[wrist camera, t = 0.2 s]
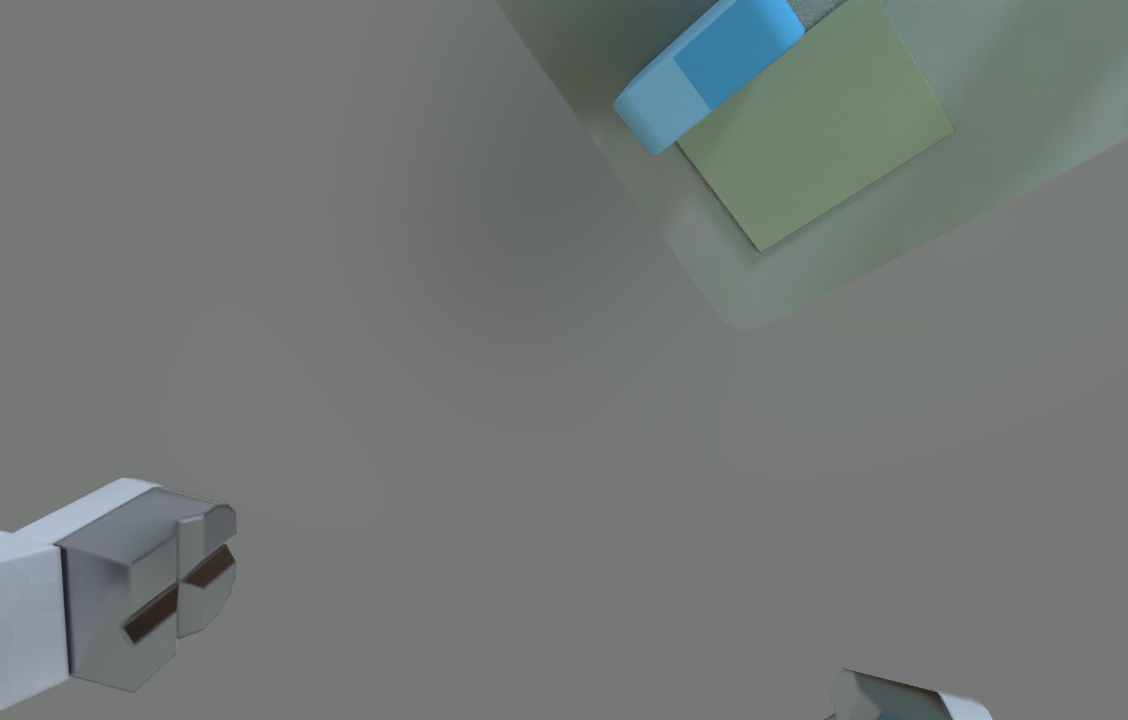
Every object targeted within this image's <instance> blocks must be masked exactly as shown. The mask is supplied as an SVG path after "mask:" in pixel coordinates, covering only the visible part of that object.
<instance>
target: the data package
mask: <svg viewBox="0 0 1128 720" xmlns="http://www.w3.org/2000/svg"><path fill="white" fill-rule="evenodd" d="M804 32H805V29H804V27H803V26H802V24H801V22H800V21H799V19H798V18H797V16H796V15H795V13H794V12H793V10H792V9H791V7H790V6H789V4H788V3H787V1H786V0H719V1H718V2H717V3H715V4H714V5H713V6H712V7H711V8H710V9H709V10H708V11H707V12H705V13H704V14H703V15H702V16H701V17H700V18H699V19H698V20H697V21H695V22H694V23H693V24H692V25H691V26H690V27H689V28H688V29H687V30H686V31H684V32H683V33H682V34H681V35H680V36H679V37H678V38H677V39H676V40H674V41H673V42H672V43H671V44H670V45H669V46H668V47H667V48H666V49H665V50H663V51H662V52H661V53H660V54H659V55H658V56H657V57H656V58H655V59H653V60H652V61H651V62H650V63H649V64H648V65H647V66H646V67H645V68H644V69H642V70H641V71H640V72H639V73H638V74H637V75H636V76H635V77H634V78H633V79H632V80H631V82H630V83H629V84H628V85H627V87H626V88H625V89H624V91H623V92H622V93H621V94H620V96H619V97H618V98H617V99H616V101H615V102H614V103H613V108H614V110H615V111H616V112H617V113H618V115H619V116H620V117H621V119H622V120H623V121H624V122H625V124H626V125H627V126H628V127H629V129H630V130H631V131H632V133H633V134H634V135H635V136H636V138H637V139H638V140H639V142H640V143H641V144H642V145H643V147H644V148H645V149H646V150H647V152H648V153H649V154H650V155H652V156H655V155H657V154H659V153H660V152H662V151H663V150H665V149H666V148H667V147H669V146H670V145H671V144H672V143H674V142H675V141H676V140H677V139H679V138H680V137H681V136H682V135H684V134H685V133H686V132H687V131H689V130H690V129H691V128H692V127H694V126H695V125H696V124H697V123H699V122H700V121H701V120H702V119H704V118H705V117H706V116H707V115H709V114H710V113H711V112H712V111H714V110H715V109H716V108H717V107H719V106H720V105H721V104H722V103H724V102H725V101H726V100H727V99H729V98H730V97H731V96H732V95H734V94H735V93H736V92H737V91H739V90H740V89H741V88H742V87H744V86H745V85H746V84H747V83H749V82H750V81H751V80H752V79H754V78H755V77H756V76H757V75H759V74H760V73H761V72H762V71H764V70H765V69H766V68H767V67H769V66H770V65H771V64H772V63H774V62H775V61H776V60H777V59H779V58H780V57H781V56H782V55H784V54H785V53H786V52H787V51H788V50H789V49H791V48H792V47H793V46H794V45H795V44H796V43H797V42H798V41H799V40H800V39H801V38H802V36H803V35H804Z"/></svg>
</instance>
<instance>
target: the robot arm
mask: <svg viewBox="0 0 1128 720" xmlns="http://www.w3.org/2000/svg"><path fill="white" fill-rule="evenodd" d="M235 534H236V512H235V511H234V510H233V509H232V508H231V507H230V506H229V505H228V504H225V503H222V502H218V501H214V500H212V499H208V498H205V497H201V496H198V495H194V494H191V493H187V492H184V491H180V490H177V489H174V488H170V487H167V486H165V487H164V486H161V485H159V484H155V483H151V482H148V481H144V480H140V479H137V478H120V479H118V480H116V481H114V482H112V483H111V484H108V485H106V486H104V487H102V488H100V489H98V490H97V491H95V492H93V493H91V494H89V495H87V496H85V497H83V498H81V499H79V500H77V501H75V502H73V503H71V504H69V505H67V506H65V507H63V508H61V509H59V510H57V511H55V512H53V513H51V514H49V515H47V516H46V517H43V518H42V519H39V520H38V521H36V522H34V523H32V524H30V525H28V526H26V527H24V528H22V529H20V530H18V531H16V532H14V533H8V532H5V531H0V711H1V710H3V709H6V708H8V707H10V706H12V705H14V704H17V703H19V702H21V701H23V700H26V699H28V698H30V697H32V696H34V695H37V694H39V693H41V692H43V691H45V690H48V689H50V688H52V687H54V686H56V685H59V684H61V683H63V682H65V681H67V680H69V676H72V677H76V678H80V679H83V680H87V681H91V682H94V683H98V684H101V685H105V686H109V687H112V688H116V689H120V690H123V691H127V692H131V693H135V692H136V691H137V690H138V689H139V688H140V687H141V686H142V685H143V684H144V683H146V682H147V681H148V680H149V679H150V678H151V677H152V676H153V675H154V674H155V673H156V672H158V671H159V670H160V669H161V668H162V667H163V666H164V665H165V664H166V663H167V662H168V661H170V660H171V659H172V658H173V657H174V656H175V655H176V652H177V645H178V639H180V638H183V637H185V636H188V635H191V634H194V633H197V632H199V631H202V630H203V629H204V628H205V627H206V626H207V625H208V624H209V623H210V622H211V621H212V620H213V619H215V618H216V616H218V614H219V612H220V611H221V609H222V607H223V606H224V604H225V603H226V601H227V599H228V598H229V596H230V594H231V590H232V587H233V583H234V580H235V568H236V561H235V559H234V558H233V556H232V554H231V552H230V551H229V549H228V547H227V545H226V544H227V543H228V542H229V541H230V540H231V539H232V538H233V536H234V535H235ZM830 696H831V700H832V703H833V707H834V710H835V713H834V714H833V715H831V716H829V717H828V718H826V719H824V720H993V719H992V717H991V716H990V714H989V712H988V711H987V709H986V708H985V707H984V706H983V705H981V704H980V703H979V702H978V701H977V700H975V699H971V698H967V697H963V696H958V695H954V694H950V693H946V692H941V691H937V690H933V689H930V690H927V689H923V688H919V687H915V686H911V685H907V684H903V683H900V682H896V681H892V680H888V679H884V678H880V677H876V676H872V675H868V674H865V673H861V672H857V671H853V670H849V669H845V668H843V670H842V671H841V672H840V673H839V674H838V676H837V677H836V679H835V682H834V684H833V687H832V689H831V692H830Z"/></svg>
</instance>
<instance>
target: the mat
mask: <svg viewBox="0 0 1128 720" xmlns="http://www.w3.org/2000/svg"><path fill="white" fill-rule="evenodd" d="M953 132H955V129H954V127H953V125H952V124H951V122H950V120H949V119H948V117H947V115H946V114H945V112H944V110H943V109H942V107H941V105H940V104H939V102H938V100H937V99H936V97H935V95H934V93H933V92H932V90H931V88H930V87H929V85H928V83H927V82H926V80H925V78H924V77H923V75H922V73H921V72H920V70H919V68H918V66H917V65H916V63H915V61H914V60H913V58H912V56H911V55H910V53H909V51H908V50H907V48H906V46H905V45H904V43H903V41H902V40H901V38H900V36H899V34H898V33H897V31H896V29H895V28H894V26H893V24H892V23H891V21H890V19H889V18H888V16H887V14H886V13H885V11H884V9H883V8H882V6H881V4H880V2H879V1H878V0H846V1H845V2H843V3H842V4H841V5H840V6H838V7H837V8H836V9H835V10H833V11H832V12H831V13H830V14H828V15H827V16H826V17H825V18H823V19H822V20H821V21H820V22H818V23H817V24H816V25H814V26H813V27H812V28H811V29H809V30H808V31H807V32H806V33H804V35H803V36H802V38H801V39H800V40H799V41H798V42H797V43H796V44H795V45H794V46H793V47H792V48H791V49H789V50H788V51H787V52H786V53H785V54H784V55H782V56H781V57H780V58H779V59H777V60H776V61H775V62H774V63H772V64H771V65H770V66H769V67H767V68H766V69H765V70H764V71H762V72H761V73H760V74H759V75H757V76H756V77H755V78H754V79H752V80H751V81H750V82H749V83H747V84H746V85H745V86H744V87H742V88H741V89H740V90H739V91H737V92H736V93H735V94H734V95H732V96H731V97H730V98H729V99H727V100H726V101H725V102H724V103H722V104H721V105H720V106H719V107H717V108H716V109H715V110H714V111H712V112H711V113H710V114H709V115H707V116H706V117H705V118H704V119H702V120H701V121H700V122H699V123H697V124H696V125H695V126H694V127H692V128H691V129H690V130H689V131H687V132H686V133H685V134H684V135H682V136H681V137H680V138H679V139H677V140H676V141H677V143H678V144H679V145H680V147H681V148H682V149H683V151H684V152H685V153H686V155H687V156H688V157H689V159H690V160H691V161H692V163H693V164H694V165H695V167H696V168H697V169H698V171H699V172H700V173H701V175H702V176H703V177H704V179H705V180H706V181H707V183H708V184H709V185H710V187H711V188H712V189H713V191H714V192H715V193H716V195H717V196H718V197H719V199H720V200H721V201H722V202H723V204H724V205H725V206H726V208H727V209H728V210H729V212H730V213H731V214H732V216H733V217H734V218H735V220H736V221H737V222H738V224H739V225H740V226H741V228H742V229H743V230H744V232H745V233H746V234H747V236H748V237H749V238H750V240H751V241H752V242H753V244H754V245H755V246H756V248H757V249H758V250H759V252H760V253H761V252H763V251H764V250H766V249H768V248H769V247H771V246H772V245H774V244H776V243H777V242H779V241H780V240H782V239H784V238H785V237H787V236H788V235H790V234H792V233H793V232H795V231H796V230H798V229H800V228H801V227H803V226H804V225H806V224H808V223H809V222H811V221H812V220H814V219H816V218H817V217H819V216H820V215H822V214H824V213H825V212H827V211H828V210H830V209H832V208H833V207H835V206H836V205H838V204H840V203H841V202H843V201H844V200H846V199H848V198H849V197H851V196H852V195H854V194H856V193H857V192H859V191H860V190H862V189H864V188H865V187H867V186H868V185H870V184H872V183H873V182H875V181H876V180H878V179H880V178H881V177H883V176H884V175H886V174H888V173H889V172H891V171H892V170H894V169H895V168H897V167H899V166H900V165H902V164H903V163H905V162H907V161H908V160H910V159H911V158H913V157H915V156H916V155H918V154H919V153H921V152H923V151H924V150H926V149H927V148H929V147H931V146H932V145H934V144H935V143H937V142H939V141H940V140H942V139H943V138H945V137H947V136H948V135H950V134H951V133H953Z"/></svg>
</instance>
